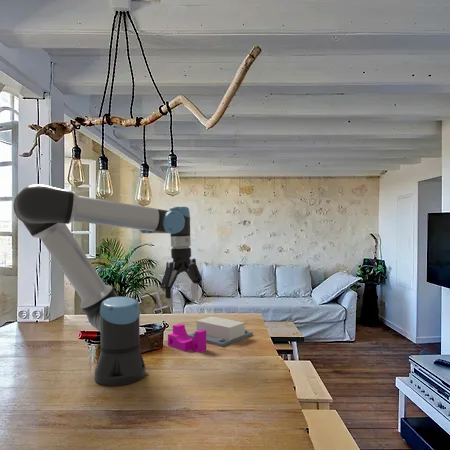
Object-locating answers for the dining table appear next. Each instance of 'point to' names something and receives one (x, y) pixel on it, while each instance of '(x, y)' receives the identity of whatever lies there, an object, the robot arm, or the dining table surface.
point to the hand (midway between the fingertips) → (183, 303)
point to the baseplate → (222, 330)
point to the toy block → (187, 339)
